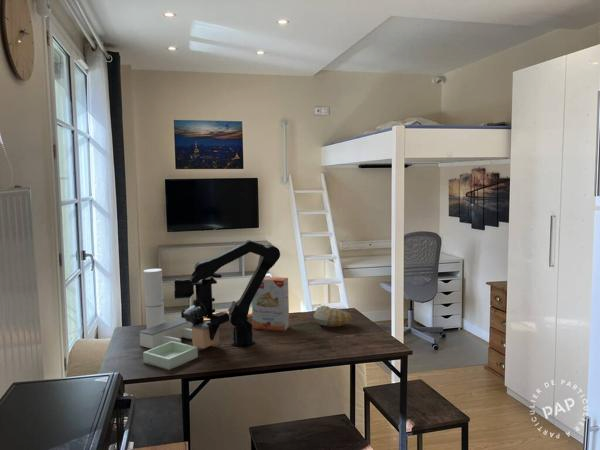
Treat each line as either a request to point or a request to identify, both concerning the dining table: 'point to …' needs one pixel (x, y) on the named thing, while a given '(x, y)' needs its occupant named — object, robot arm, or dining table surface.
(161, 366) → the tray
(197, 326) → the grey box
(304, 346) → the dining table surface
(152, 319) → the cylindrical container
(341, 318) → the nautilus
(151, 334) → the grey forked piece
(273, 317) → the cracker box
